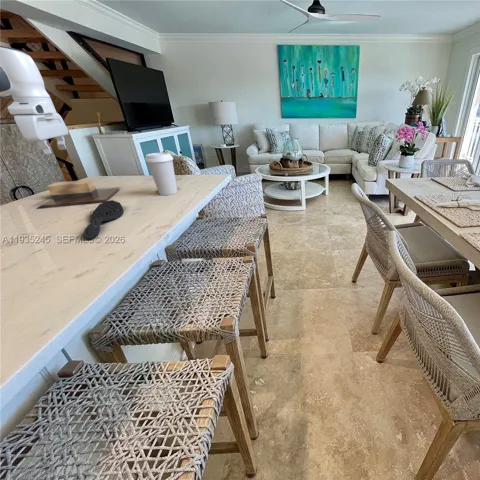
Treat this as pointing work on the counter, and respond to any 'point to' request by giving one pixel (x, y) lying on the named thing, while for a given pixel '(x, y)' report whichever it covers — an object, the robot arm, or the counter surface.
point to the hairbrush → (102, 217)
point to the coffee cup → (162, 172)
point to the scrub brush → (72, 189)
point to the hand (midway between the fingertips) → (56, 151)
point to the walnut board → (82, 199)
